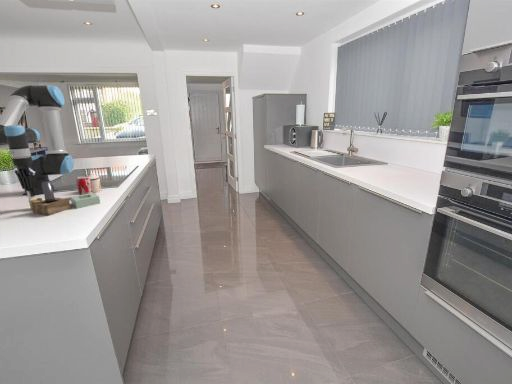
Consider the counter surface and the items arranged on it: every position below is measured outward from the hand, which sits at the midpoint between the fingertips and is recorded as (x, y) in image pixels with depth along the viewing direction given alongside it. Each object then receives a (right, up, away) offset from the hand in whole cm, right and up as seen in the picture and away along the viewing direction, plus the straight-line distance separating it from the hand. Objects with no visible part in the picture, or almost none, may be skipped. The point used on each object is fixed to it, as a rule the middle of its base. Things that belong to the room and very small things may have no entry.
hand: (33, 202), depth 141 cm
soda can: (+16, +2, +19) cm, 25 cm away
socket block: (+13, -4, -4) cm, 14 cm away
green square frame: (+23, -1, +7) cm, 24 cm away
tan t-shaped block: (+6, -3, -1) cm, 6 cm away
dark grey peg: (+13, -4, -4) cm, 14 cm away
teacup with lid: (+12, +6, +32) cm, 35 cm away
